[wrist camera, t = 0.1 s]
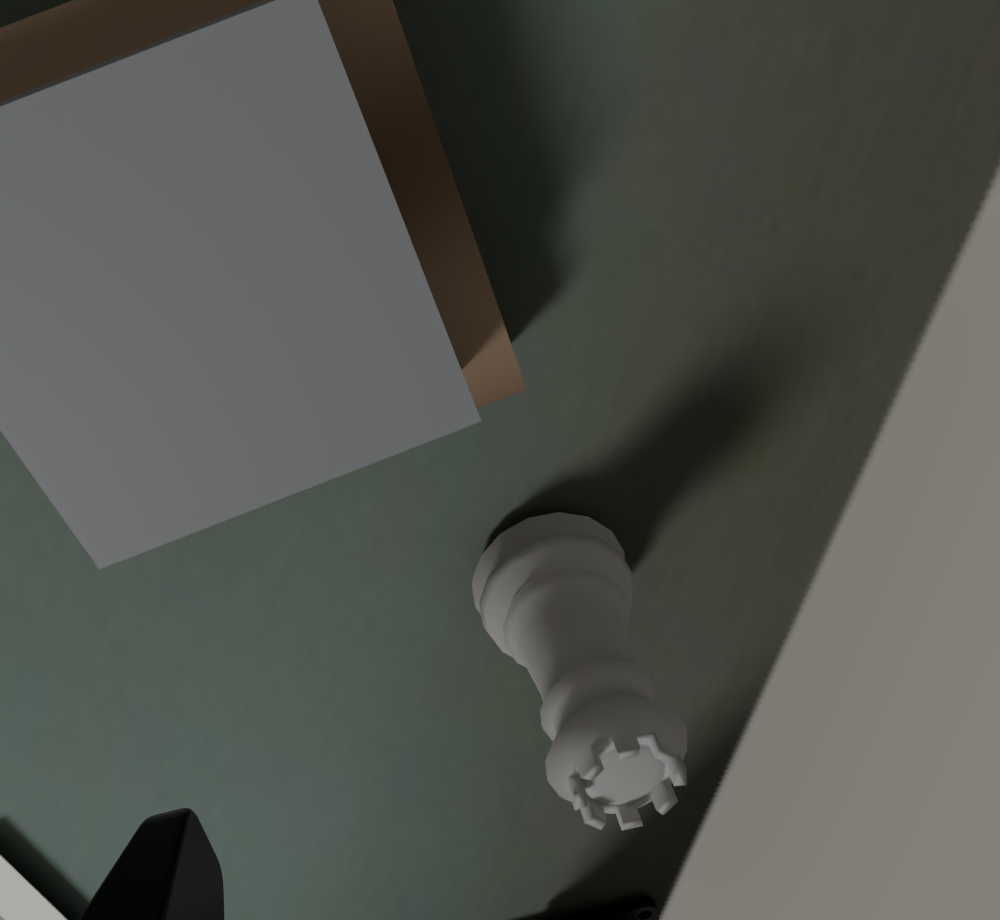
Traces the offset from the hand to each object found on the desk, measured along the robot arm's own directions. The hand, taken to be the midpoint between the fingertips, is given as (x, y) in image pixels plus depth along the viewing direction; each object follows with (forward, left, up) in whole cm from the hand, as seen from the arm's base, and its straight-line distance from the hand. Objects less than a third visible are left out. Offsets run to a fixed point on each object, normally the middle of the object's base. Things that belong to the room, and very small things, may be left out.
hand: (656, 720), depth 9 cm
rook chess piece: (-9, -1, -15) cm, 18 cm away
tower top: (+2, +5, -12) cm, 13 cm away
